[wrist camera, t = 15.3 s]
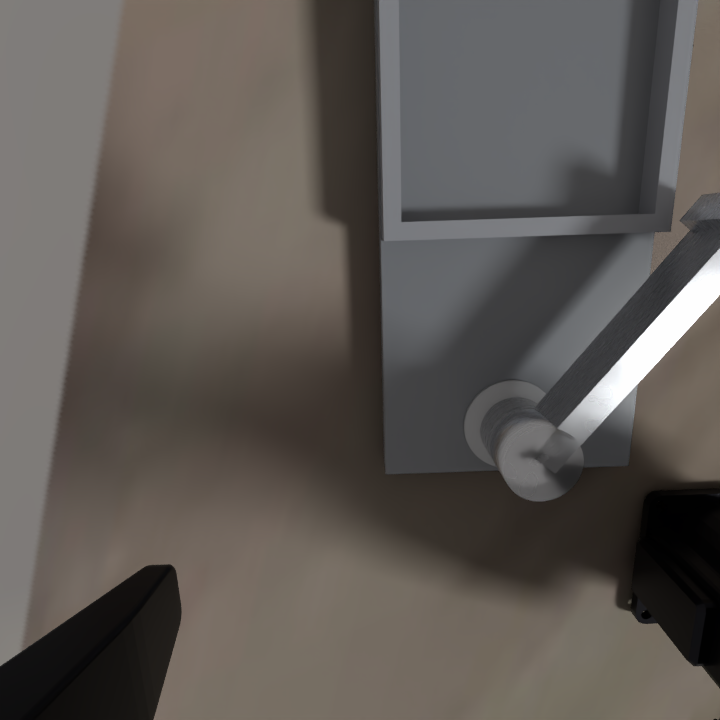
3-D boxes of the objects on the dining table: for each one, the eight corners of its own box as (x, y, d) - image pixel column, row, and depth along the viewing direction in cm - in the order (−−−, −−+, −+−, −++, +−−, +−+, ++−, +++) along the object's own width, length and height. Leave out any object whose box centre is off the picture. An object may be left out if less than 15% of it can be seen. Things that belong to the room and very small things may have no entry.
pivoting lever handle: (728, 238, 17) (804, 239, 14) (517, 472, 19) (546, 515, 16) (676, 191, 17) (743, 182, 14) (466, 436, 19) (486, 472, 16)
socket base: (691, -311, 15) (748, -402, 13) (613, 452, 21) (642, 477, 19) (366, -302, 15) (369, -392, 13) (384, 461, 21) (387, 486, 19)
